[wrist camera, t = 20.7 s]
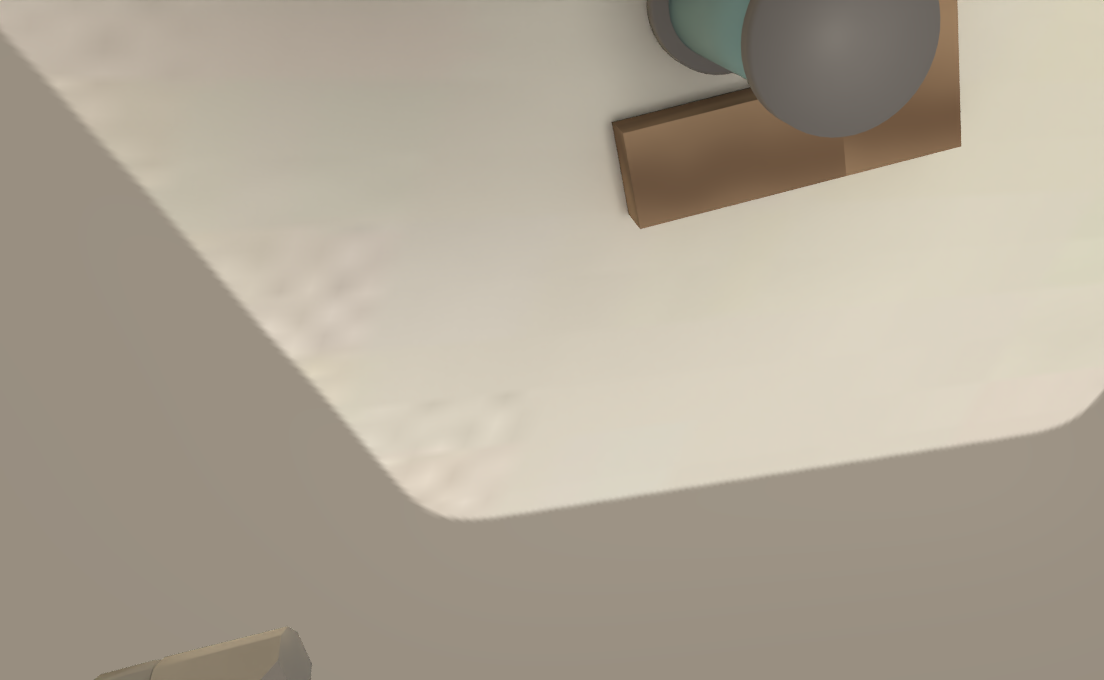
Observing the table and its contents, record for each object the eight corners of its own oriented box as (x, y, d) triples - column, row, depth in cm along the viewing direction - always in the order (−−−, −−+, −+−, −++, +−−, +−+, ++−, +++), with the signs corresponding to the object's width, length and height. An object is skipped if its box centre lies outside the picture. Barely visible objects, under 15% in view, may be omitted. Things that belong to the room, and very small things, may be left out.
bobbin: (635, -62, 38) (741, -42, 27) (776, -95, 38) (937, -89, 27) (658, 84, 40) (764, 157, 29) (791, 52, 40) (943, 112, 30)
